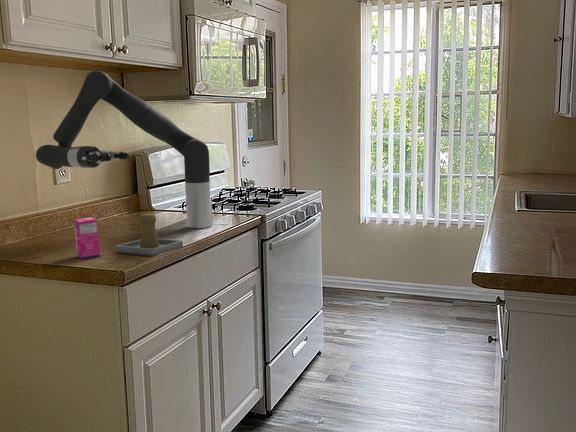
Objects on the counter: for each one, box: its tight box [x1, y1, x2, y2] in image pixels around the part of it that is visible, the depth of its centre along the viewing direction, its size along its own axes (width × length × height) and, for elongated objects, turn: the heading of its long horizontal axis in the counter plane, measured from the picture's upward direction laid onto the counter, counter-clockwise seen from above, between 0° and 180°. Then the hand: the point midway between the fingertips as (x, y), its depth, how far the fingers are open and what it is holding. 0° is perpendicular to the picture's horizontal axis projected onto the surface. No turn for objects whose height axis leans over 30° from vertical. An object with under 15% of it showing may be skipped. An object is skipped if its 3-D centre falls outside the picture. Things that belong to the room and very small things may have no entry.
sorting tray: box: [115, 238, 184, 257], centre depth 189 cm, size 15×15×2 cm
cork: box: [139, 212, 159, 249], centre depth 189 cm, size 6×6×11 cm
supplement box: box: [73, 217, 101, 260], centre depth 181 cm, size 6×6×12 cm
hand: (119, 156), depth 200 cm, fingers open, 8 cm apart
